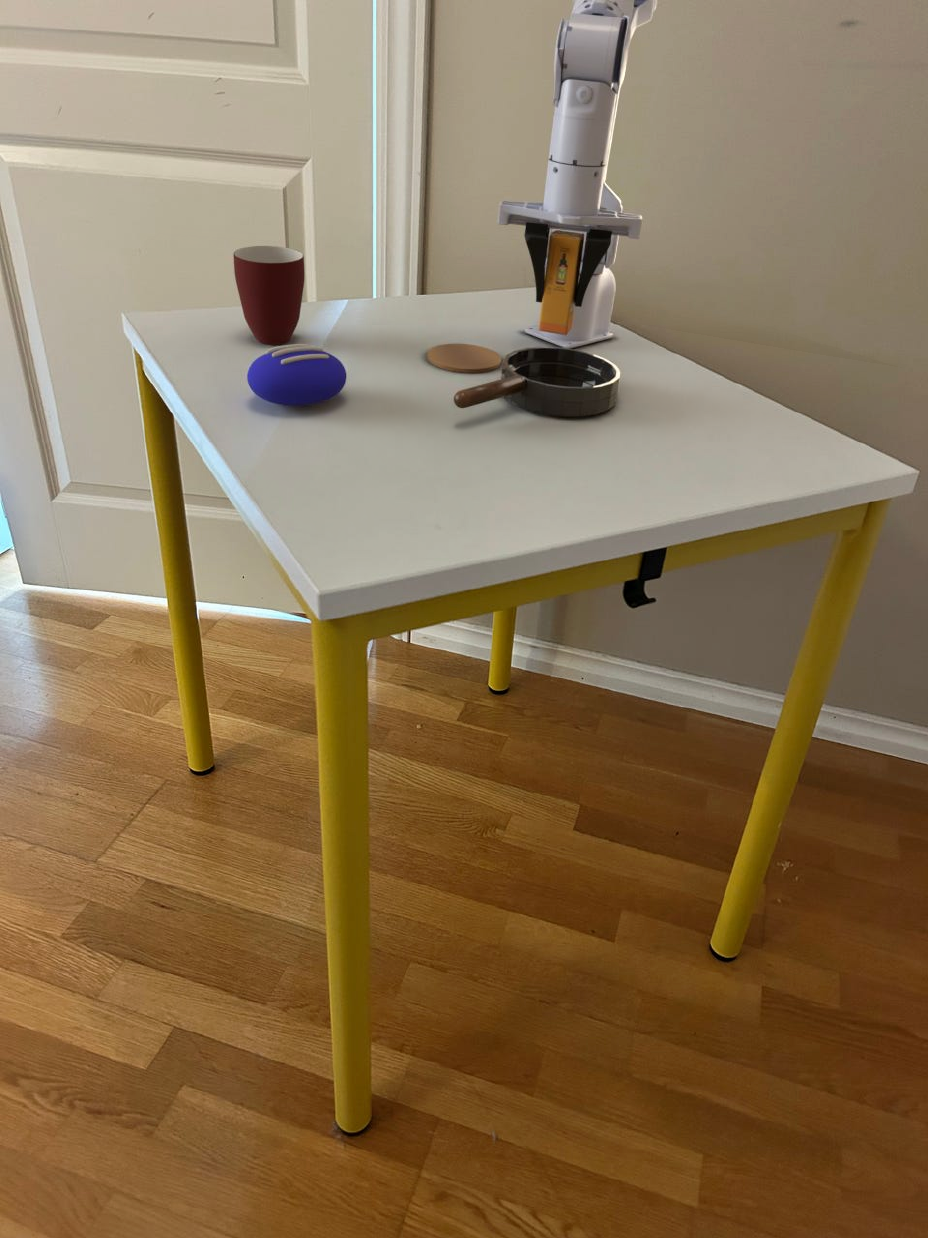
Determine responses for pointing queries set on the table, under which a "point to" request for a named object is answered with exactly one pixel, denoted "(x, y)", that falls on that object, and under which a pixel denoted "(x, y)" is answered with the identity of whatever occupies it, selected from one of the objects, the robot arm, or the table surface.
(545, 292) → the supplement box
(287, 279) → the mug
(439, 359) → the disc
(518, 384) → the pan handle
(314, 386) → the decorative object
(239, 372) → the table surface
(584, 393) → the pan
